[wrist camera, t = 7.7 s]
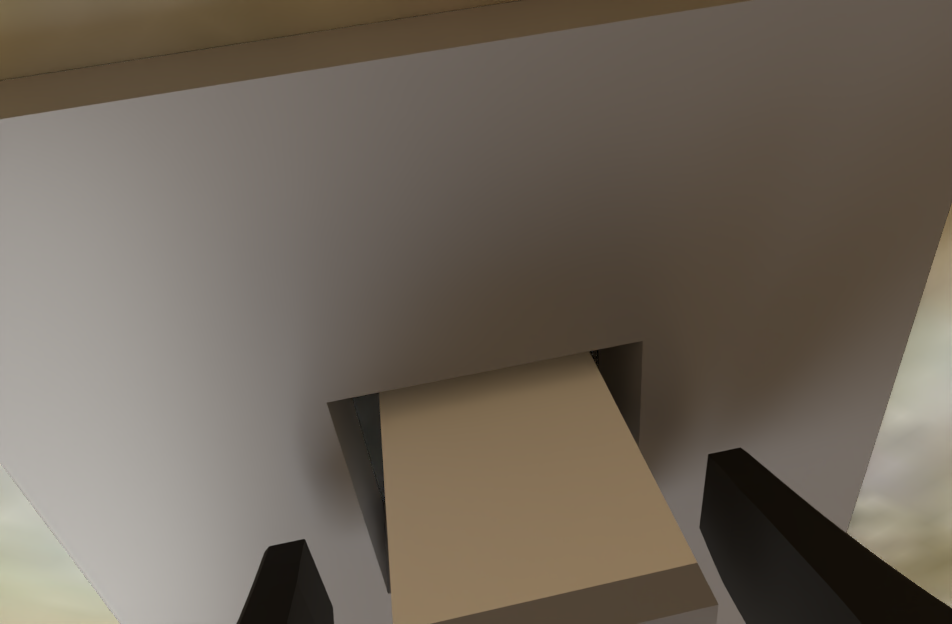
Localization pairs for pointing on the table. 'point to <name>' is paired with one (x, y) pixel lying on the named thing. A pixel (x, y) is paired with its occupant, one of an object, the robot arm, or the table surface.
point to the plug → (529, 505)
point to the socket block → (454, 264)
